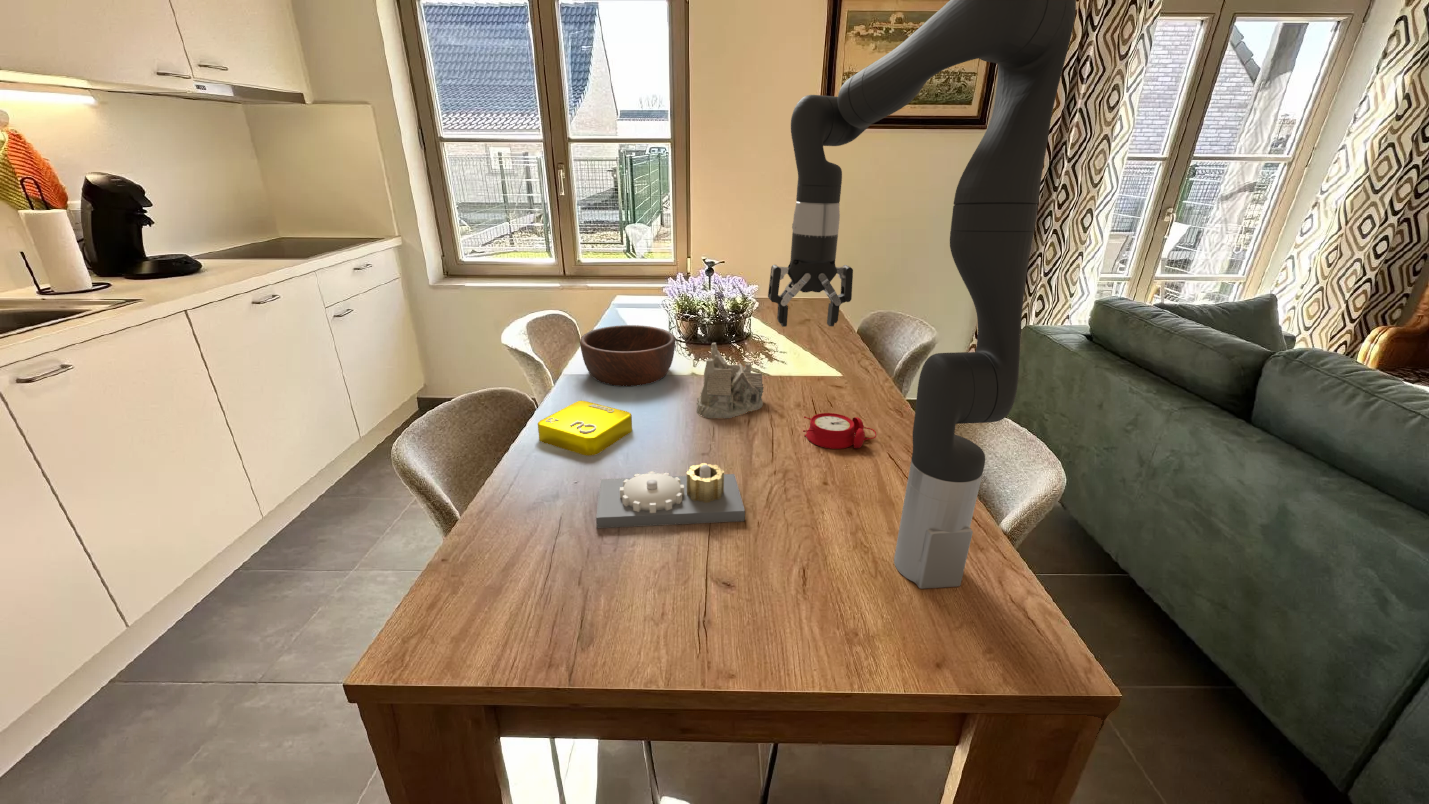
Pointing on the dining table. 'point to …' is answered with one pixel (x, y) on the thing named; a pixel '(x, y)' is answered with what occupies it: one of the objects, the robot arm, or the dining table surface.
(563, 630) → the dining table surface
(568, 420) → the element tile
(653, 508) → the gear board
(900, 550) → the robot arm
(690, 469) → the brass gear
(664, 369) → the wooden bowl
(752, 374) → the ceramic cottage
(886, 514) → the dining table surface
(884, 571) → the dining table surface
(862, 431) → the alarm clock
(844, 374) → the dining table surface
